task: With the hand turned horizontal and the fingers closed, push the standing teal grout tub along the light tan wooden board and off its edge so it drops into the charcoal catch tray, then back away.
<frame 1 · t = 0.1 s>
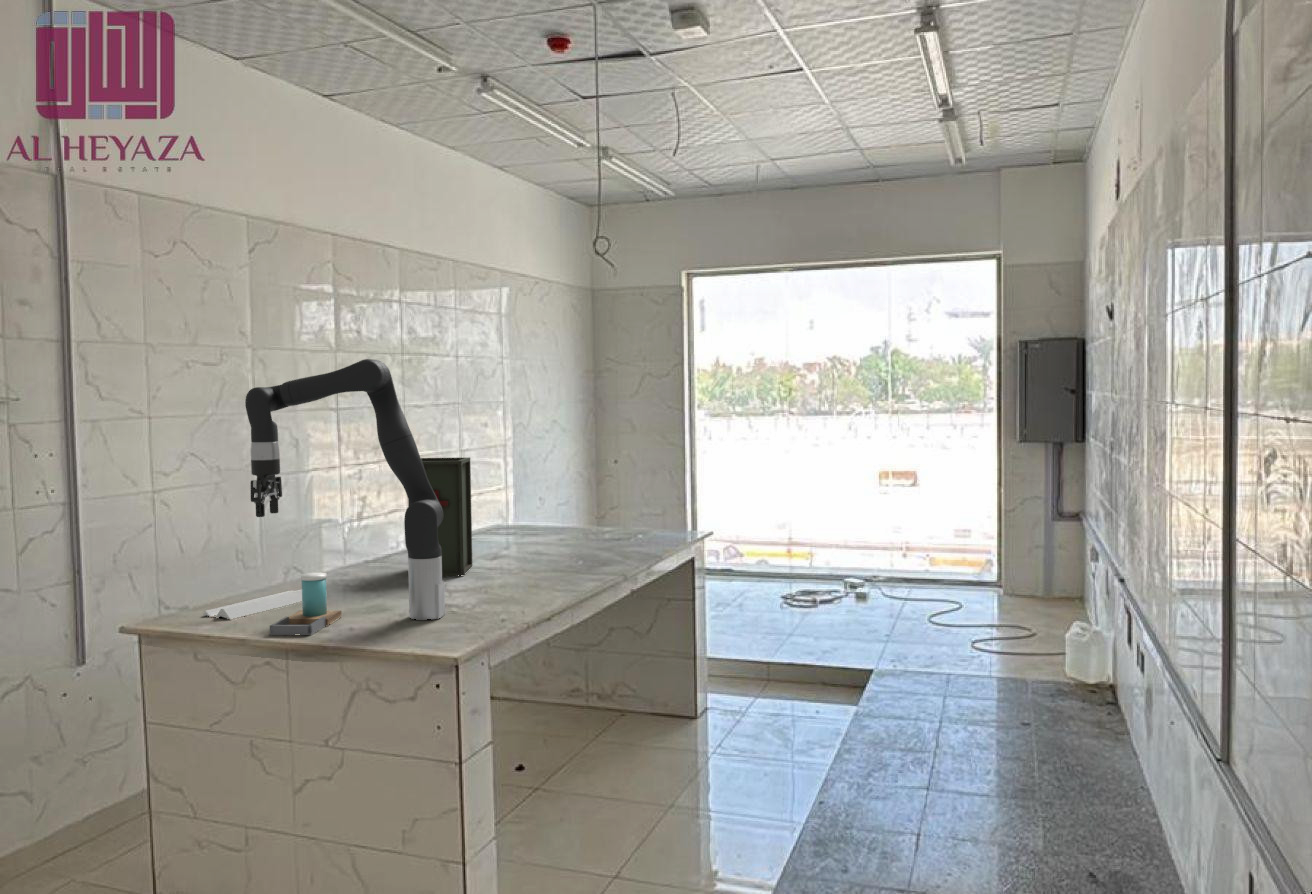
hand: (267, 515, 268), 29 cm above the table, tool pointing down, fingers open, 8 cm apart
light tan wooden board: (313, 621, 264), on the table
crown molding: (262, 609, 283), on the table
first aid box: (442, 572, 337), on the table
catch tray: (298, 630, 254), on the table
grout tub: (314, 613, 264), point 2 cm above the table, touching light tan wooden board
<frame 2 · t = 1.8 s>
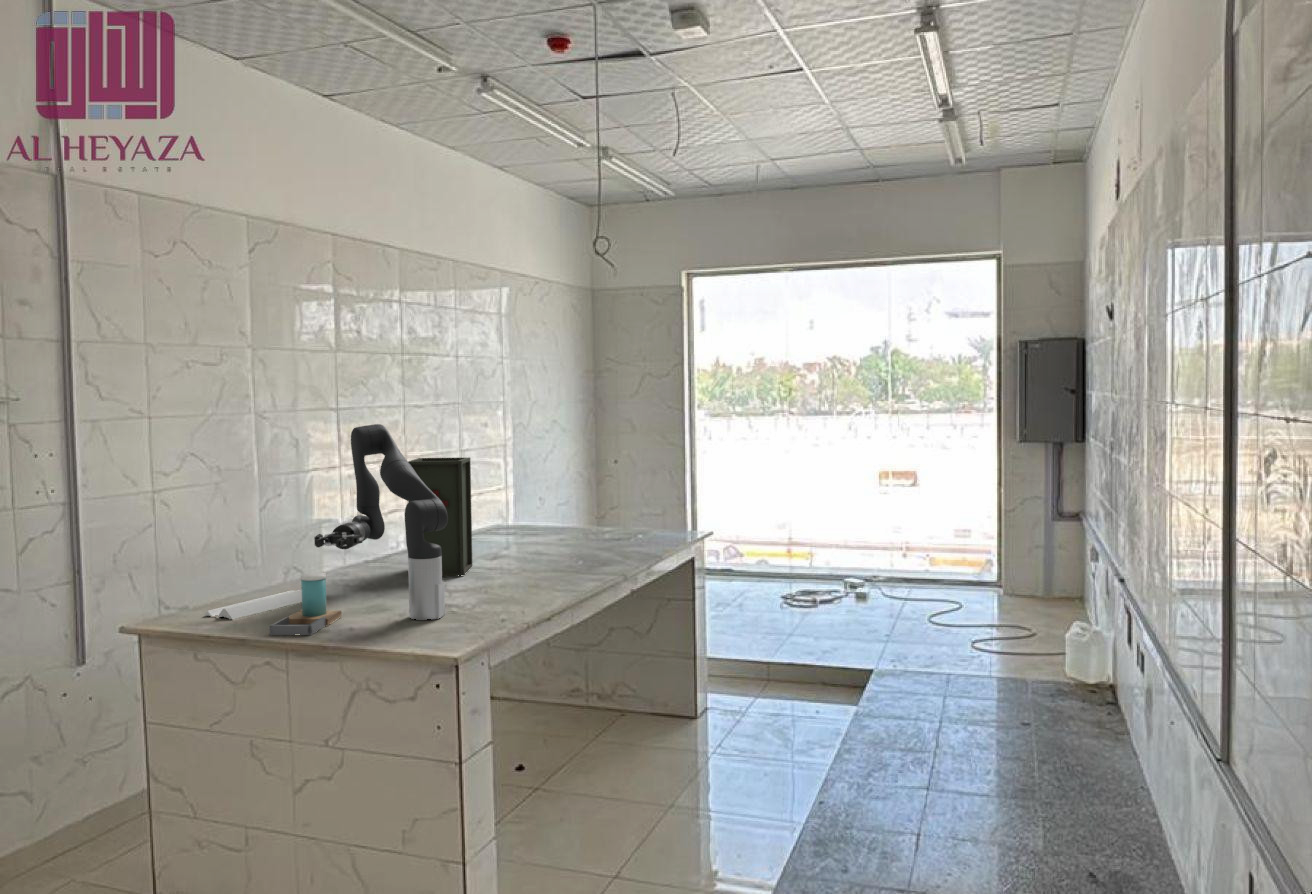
hand: (327, 543, 274), 20 cm above the table, tool horizontal, fingers open, 5 cm apart
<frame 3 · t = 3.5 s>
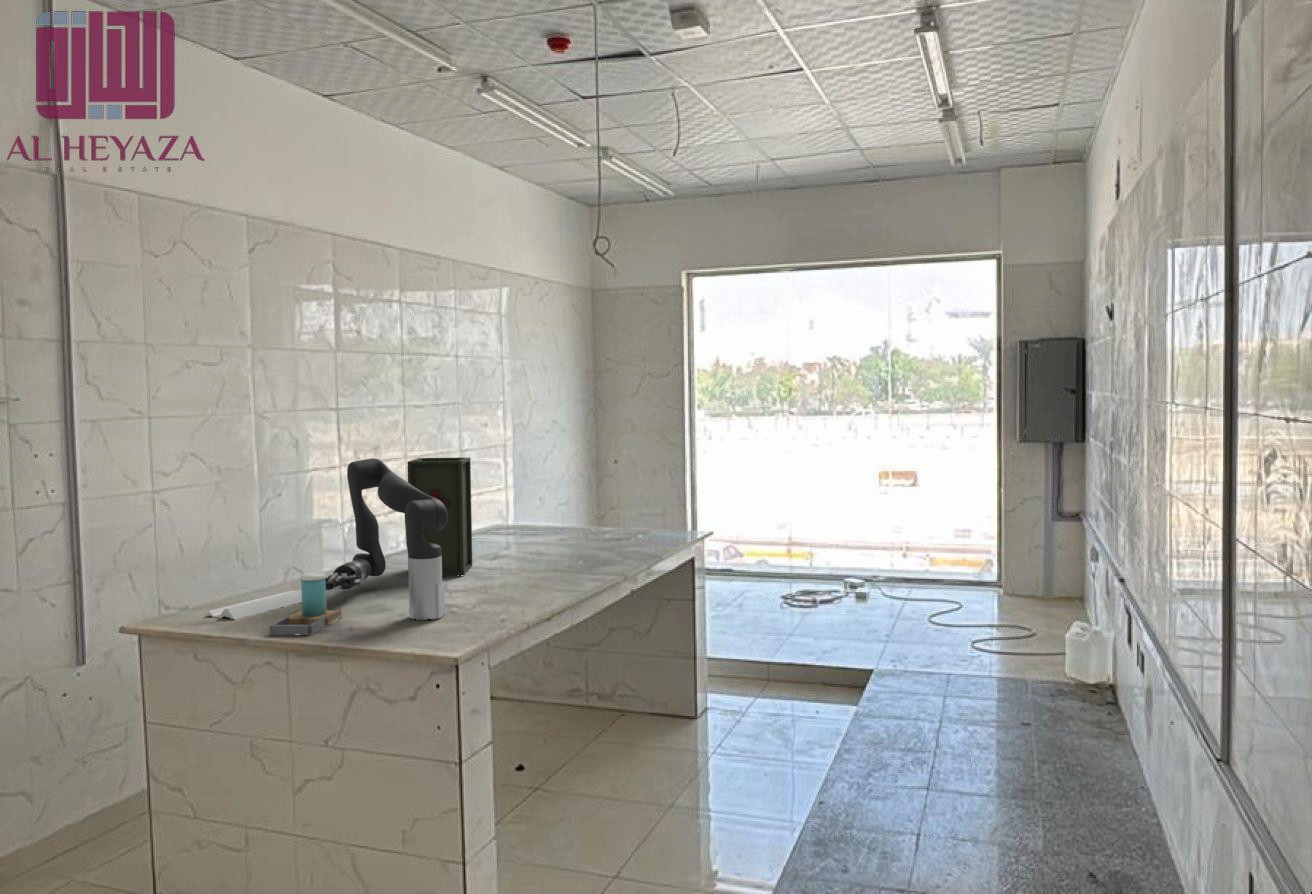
hand: (328, 586, 274), 8 cm above the table, tool horizontal, fingers closed
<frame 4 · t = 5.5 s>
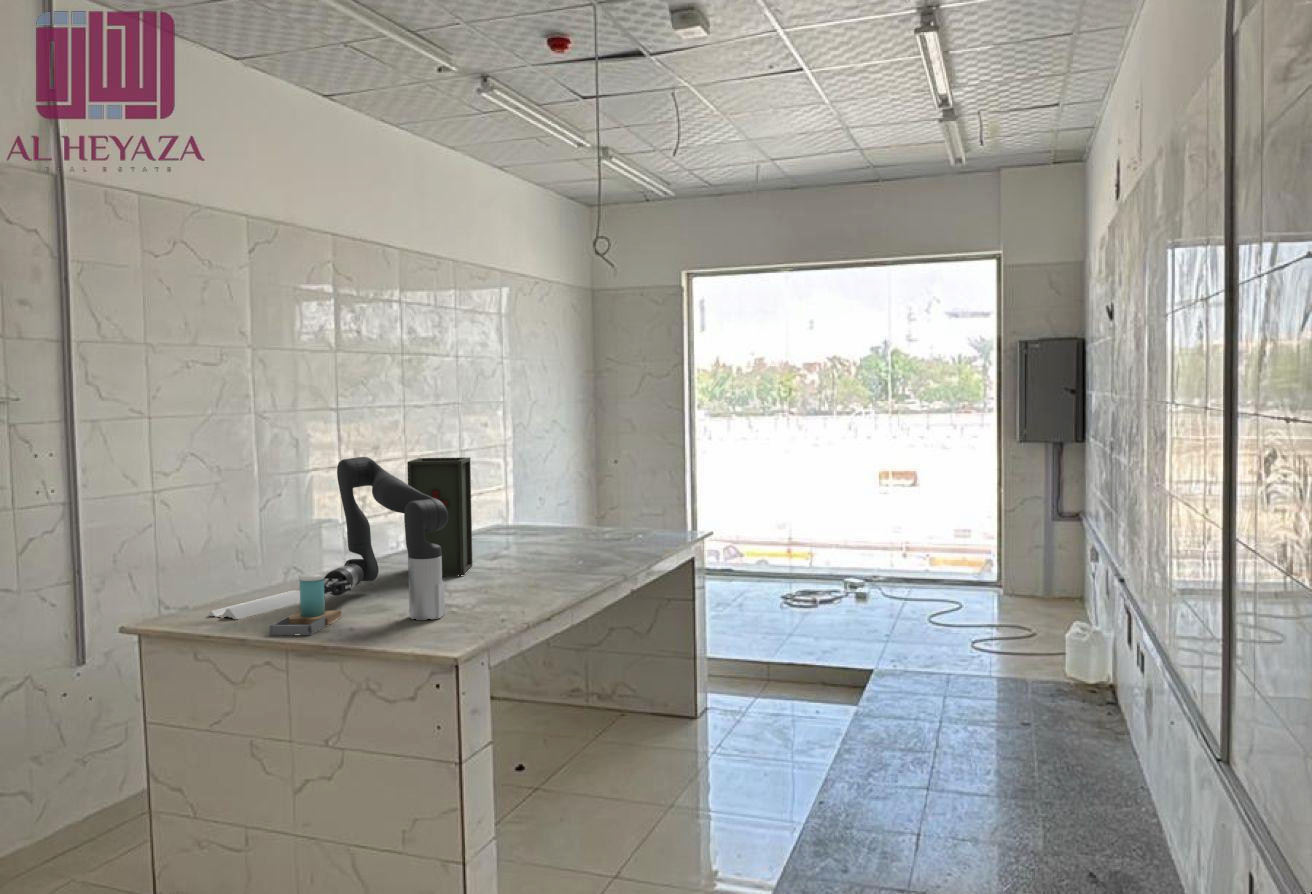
hand: (317, 592, 267), 7 cm above the table, tool horizontal, fingers closed
grout tub: (312, 614, 264), point 2 cm above the table
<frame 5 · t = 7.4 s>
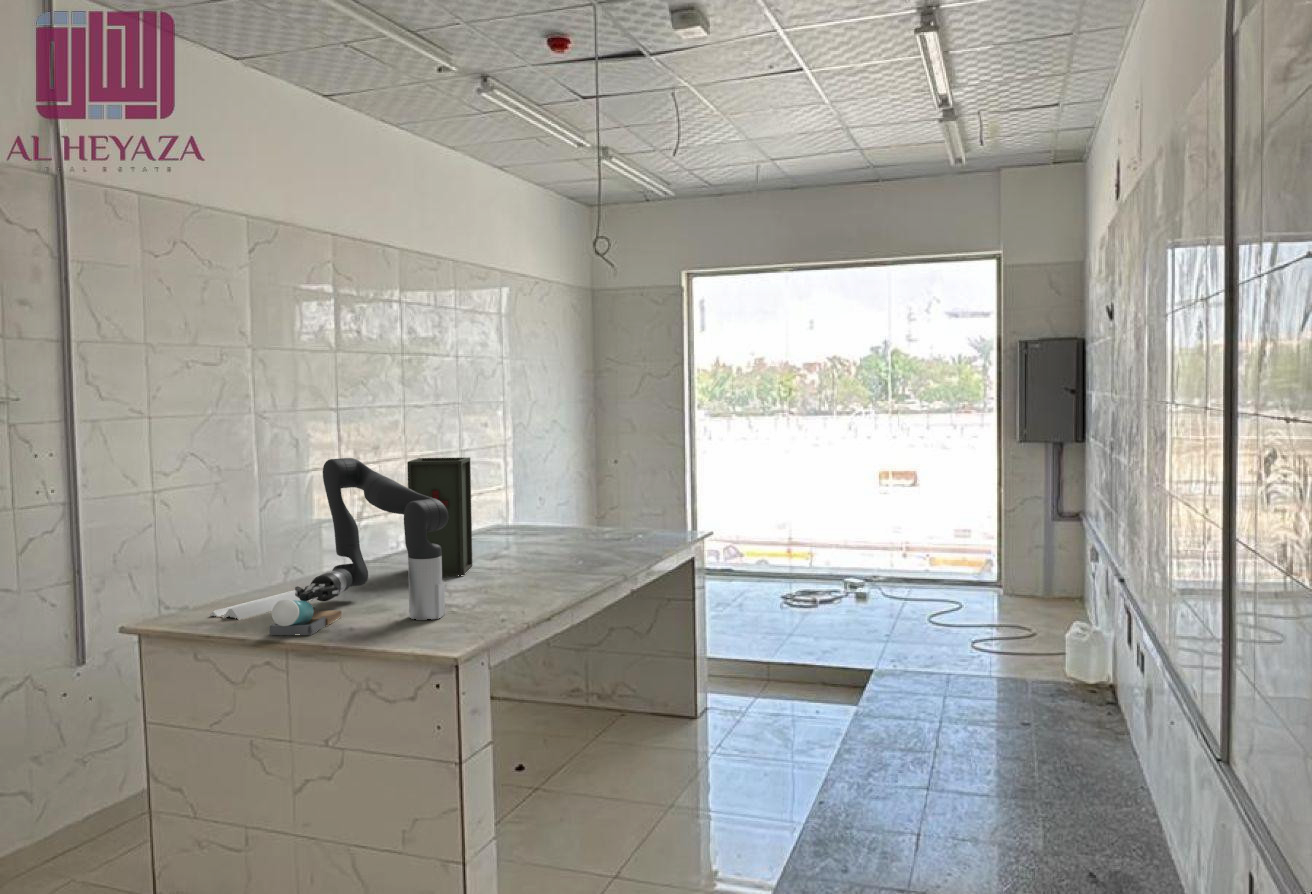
hand: (303, 597, 257), 8 cm above the table, tool horizontal, fingers closed
grout tub: (301, 612, 257), point 4 cm above the table, tilted 77°, touching catch tray, gripper
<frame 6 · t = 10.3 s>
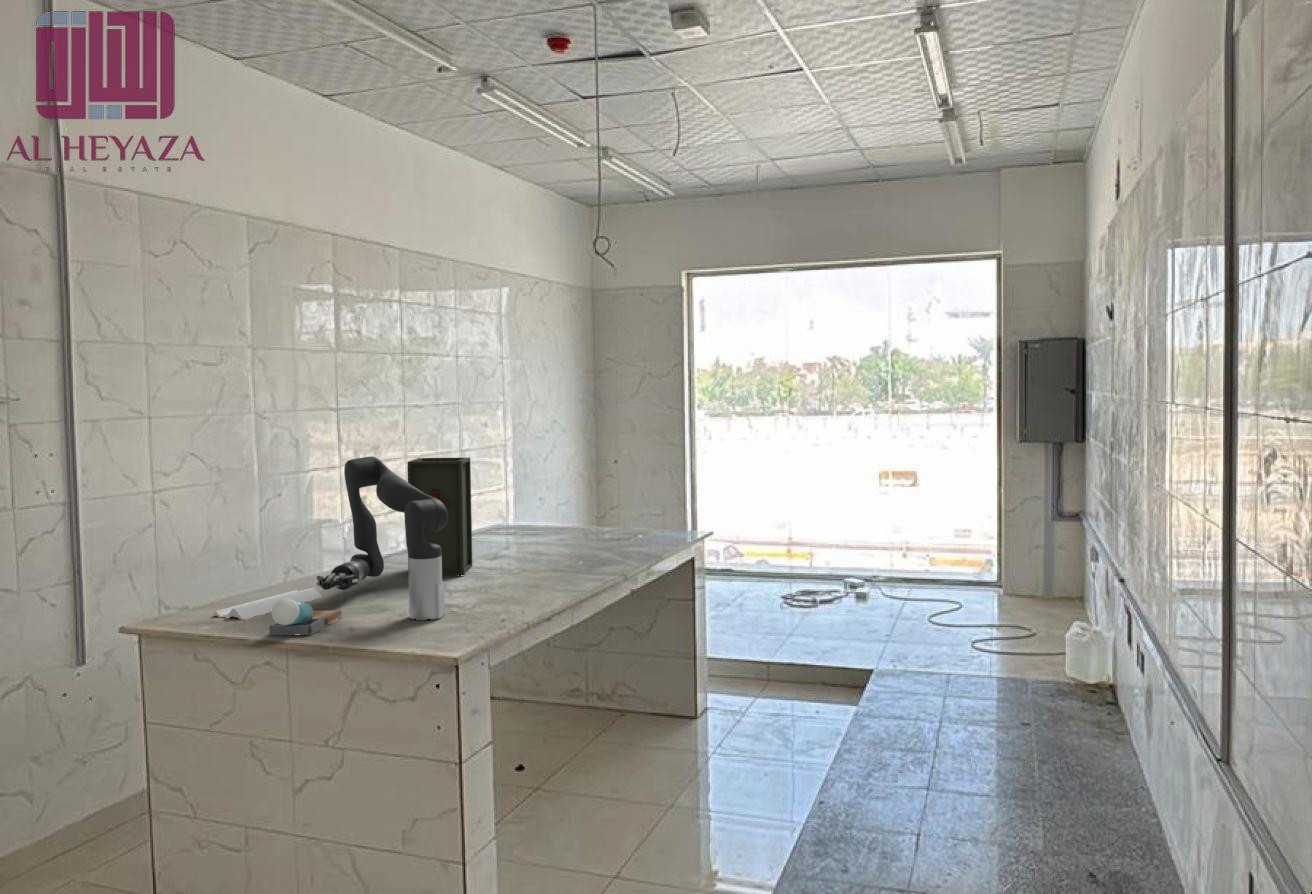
hand: (325, 586, 272), 8 cm above the table, tool horizontal, fingers closed
grout tub: (301, 614, 257), point 4 cm above the table, tilted 73°, touching catch tray
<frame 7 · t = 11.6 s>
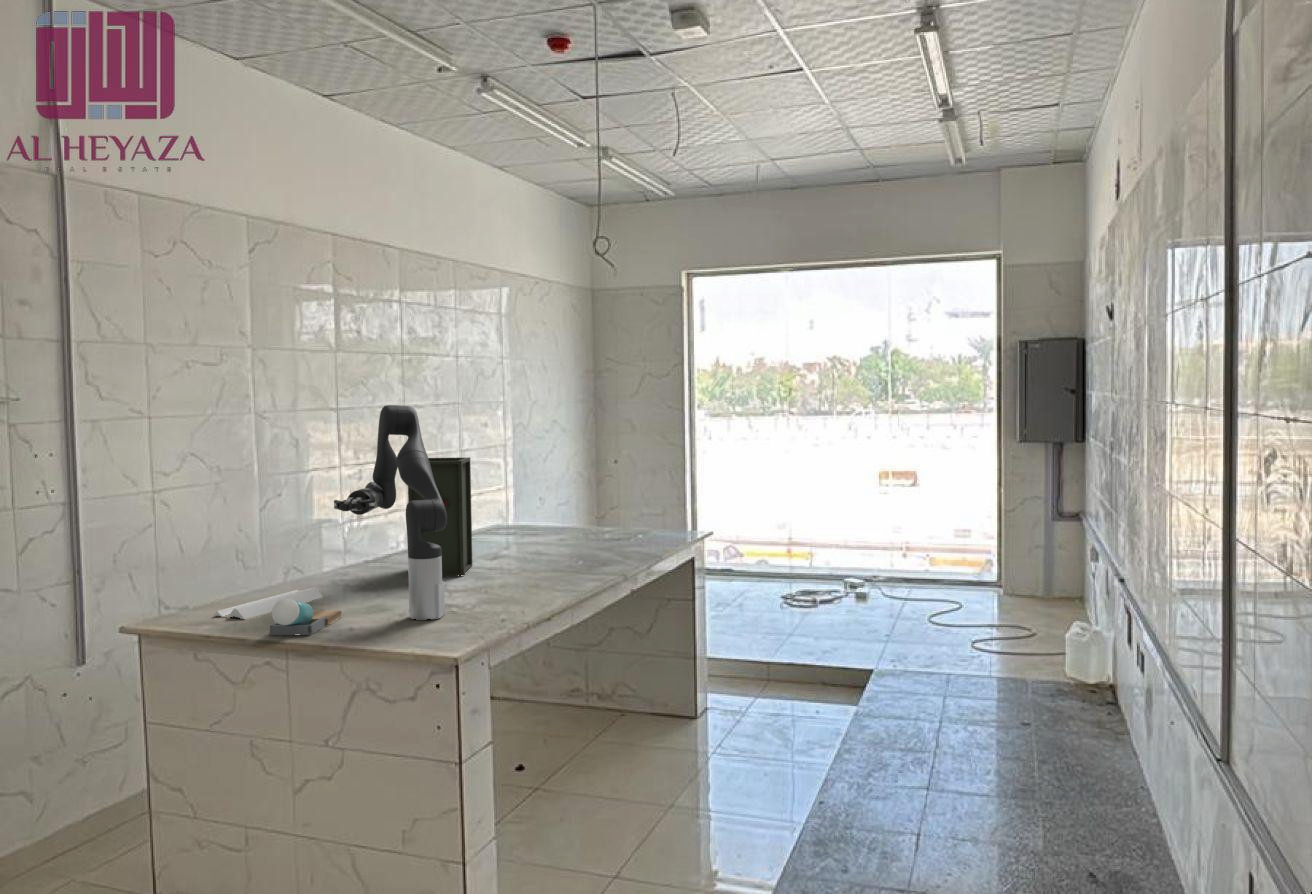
hand: (344, 507, 278), 30 cm above the table, tool horizontal, fingers closed
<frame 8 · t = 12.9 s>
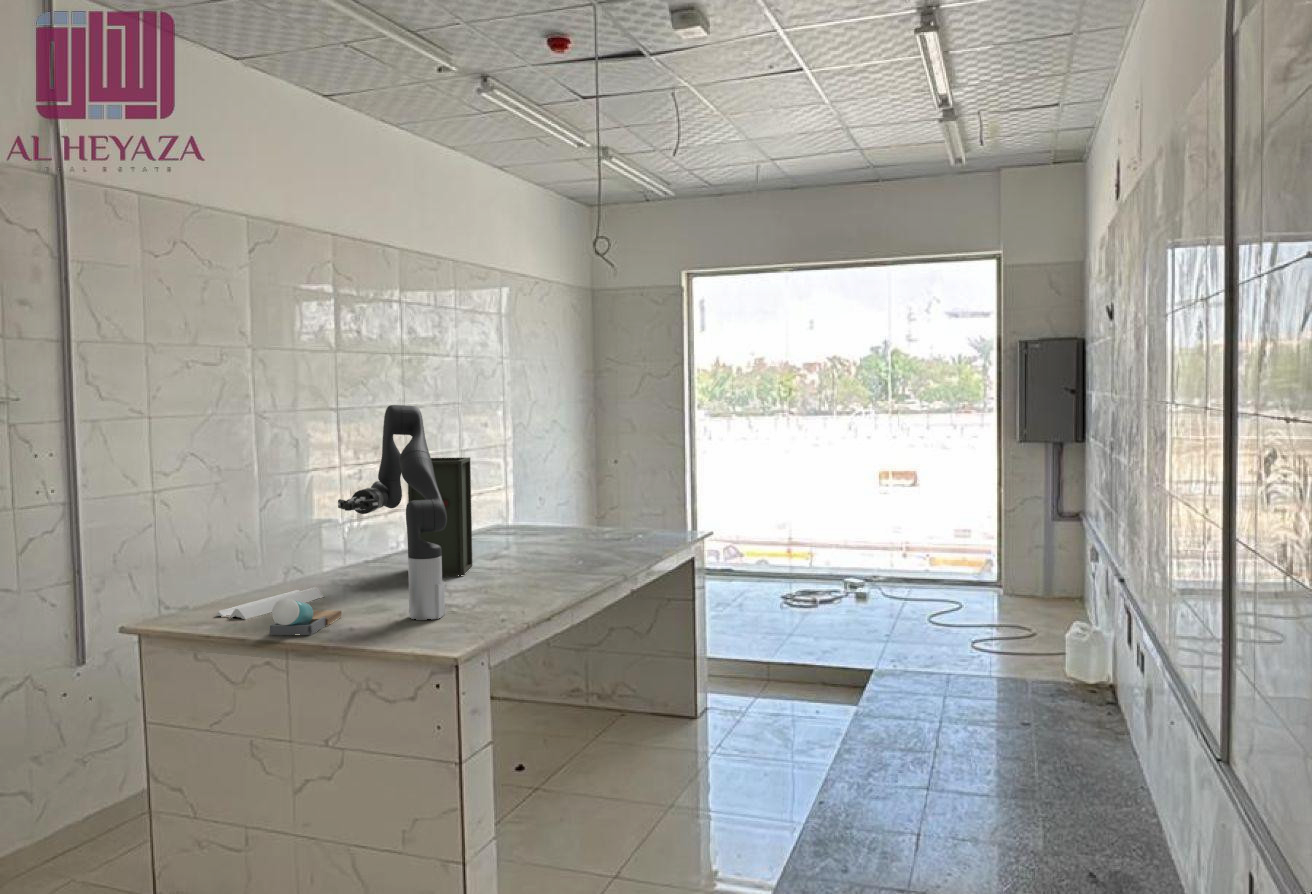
hand: (347, 507, 279), 30 cm above the table, tool horizontal, fingers closed
at the end: grout tub inside the target area (4.3 cm from its centre), point 3.7 cm above the table; grout tub touching catch tray; the gripper is holding nothing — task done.
